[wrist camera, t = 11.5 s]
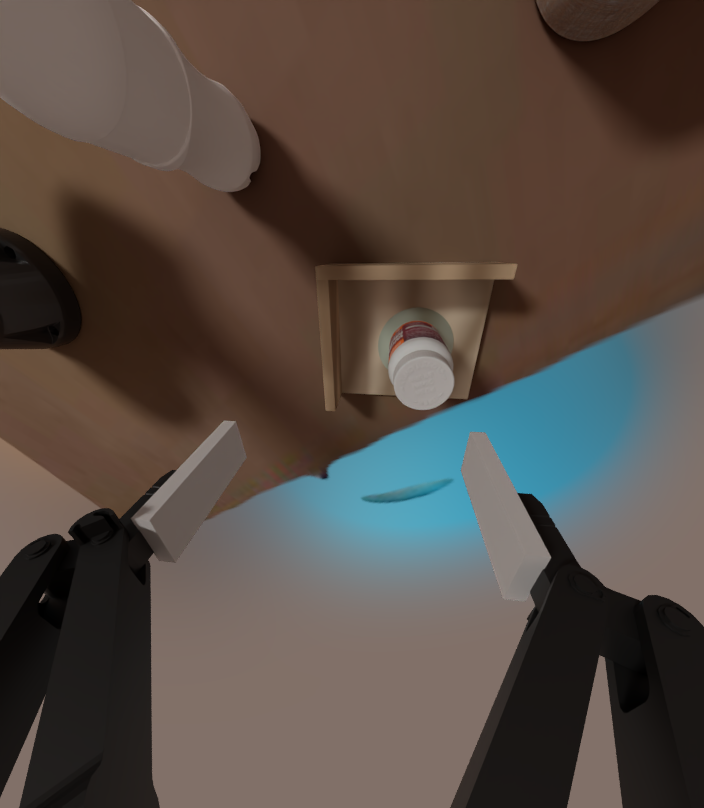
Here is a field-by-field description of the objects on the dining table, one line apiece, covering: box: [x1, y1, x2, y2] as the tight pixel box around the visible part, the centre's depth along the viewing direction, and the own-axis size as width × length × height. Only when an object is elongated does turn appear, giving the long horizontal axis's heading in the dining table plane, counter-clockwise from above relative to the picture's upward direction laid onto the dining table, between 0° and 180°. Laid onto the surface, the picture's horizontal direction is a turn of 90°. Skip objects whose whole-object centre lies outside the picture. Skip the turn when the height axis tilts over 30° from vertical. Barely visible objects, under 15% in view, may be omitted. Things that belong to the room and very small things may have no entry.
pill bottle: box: [388, 320, 454, 410], centre depth 28 cm, size 6×6×11 cm
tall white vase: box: [0, 0, 261, 192], centre depth 16 cm, size 7×7×25 cm
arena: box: [315, 262, 517, 411], centre depth 31 cm, size 18×16×6 cm
